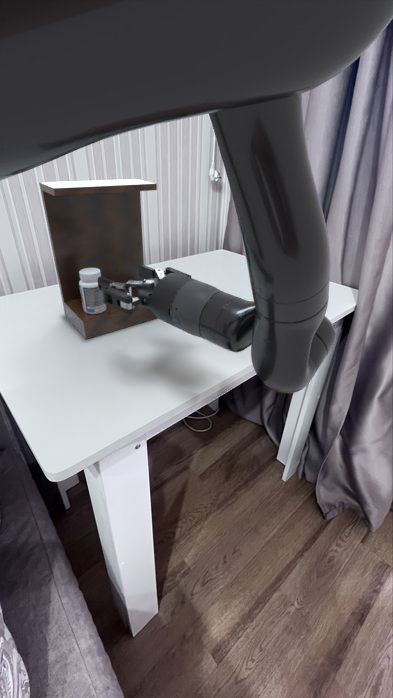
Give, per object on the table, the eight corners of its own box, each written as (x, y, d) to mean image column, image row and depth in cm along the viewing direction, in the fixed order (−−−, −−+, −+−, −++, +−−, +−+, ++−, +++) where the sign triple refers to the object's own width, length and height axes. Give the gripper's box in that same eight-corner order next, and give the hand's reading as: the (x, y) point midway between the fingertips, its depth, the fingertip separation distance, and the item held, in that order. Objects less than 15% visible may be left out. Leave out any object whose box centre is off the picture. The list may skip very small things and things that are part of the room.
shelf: (86, 339, 67) (61, 191, 52) (65, 316, 75) (38, 182, 60) (168, 314, 77) (168, 186, 63) (143, 296, 85) (136, 178, 70)
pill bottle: (111, 308, 70) (107, 270, 65) (94, 316, 67) (89, 276, 62) (95, 302, 72) (90, 265, 67) (78, 310, 69) (71, 271, 64)
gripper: (223, 269, 51) (151, 246, 59) (154, 295, 41) (81, 263, 50) (219, 313, 55) (152, 286, 63) (155, 346, 46) (87, 308, 54)
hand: (120, 276), depth 57 cm, fingers open, 8 cm apart
